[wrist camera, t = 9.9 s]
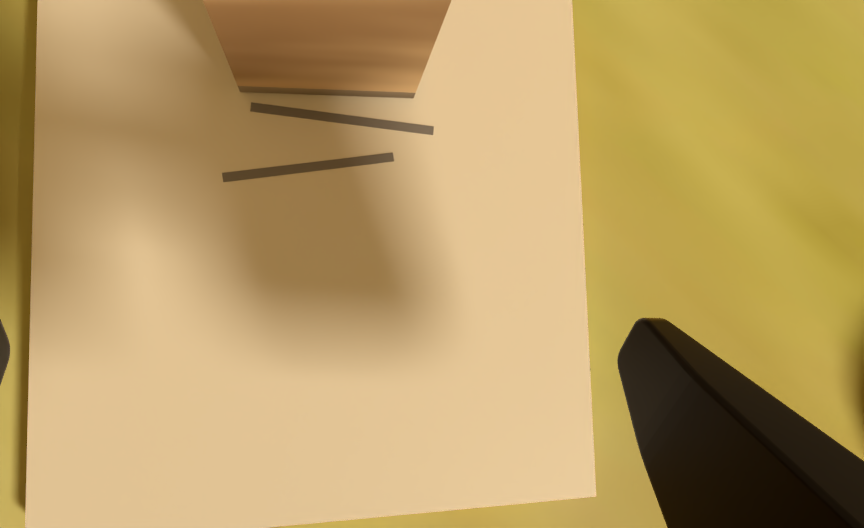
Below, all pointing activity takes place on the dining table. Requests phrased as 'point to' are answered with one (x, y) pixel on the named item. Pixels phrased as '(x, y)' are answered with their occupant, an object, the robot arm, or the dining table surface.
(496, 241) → the board
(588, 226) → the dining table surface
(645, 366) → the robot arm
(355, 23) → the block
